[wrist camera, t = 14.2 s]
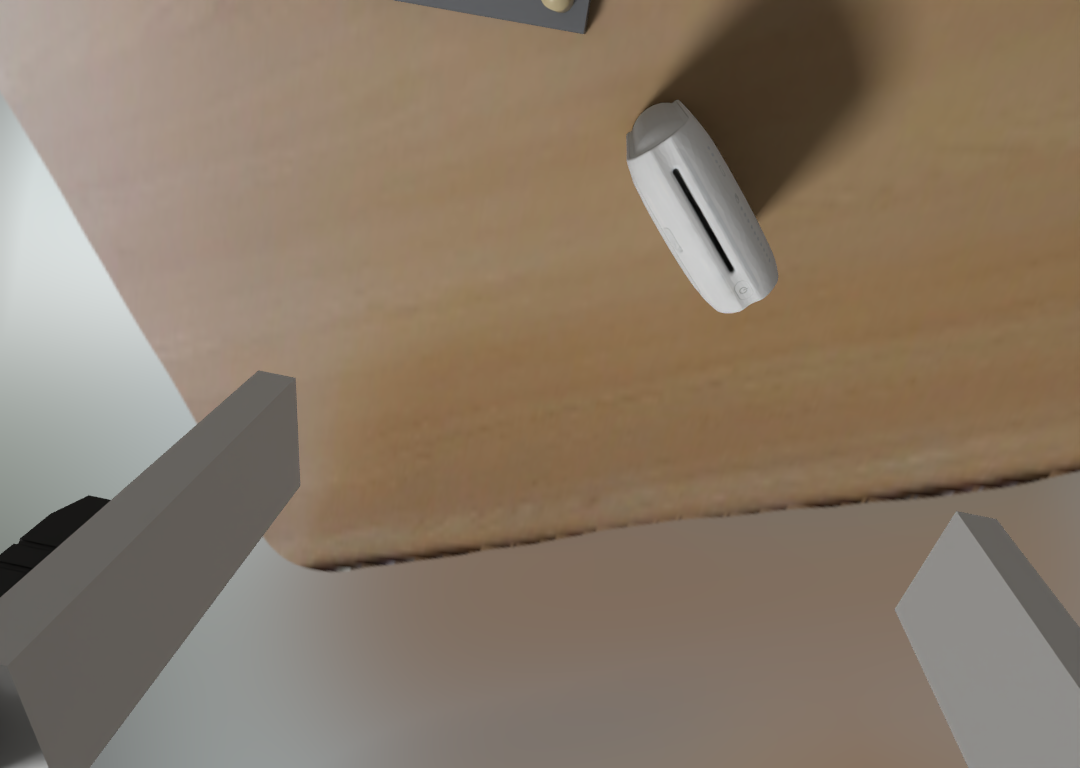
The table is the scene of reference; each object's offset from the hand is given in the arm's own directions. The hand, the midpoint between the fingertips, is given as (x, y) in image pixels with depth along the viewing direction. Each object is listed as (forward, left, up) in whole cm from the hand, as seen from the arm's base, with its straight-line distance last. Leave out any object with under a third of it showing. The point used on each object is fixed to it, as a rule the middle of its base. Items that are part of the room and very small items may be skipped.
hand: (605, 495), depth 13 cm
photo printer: (-4, -1, -32) cm, 32 cm away
